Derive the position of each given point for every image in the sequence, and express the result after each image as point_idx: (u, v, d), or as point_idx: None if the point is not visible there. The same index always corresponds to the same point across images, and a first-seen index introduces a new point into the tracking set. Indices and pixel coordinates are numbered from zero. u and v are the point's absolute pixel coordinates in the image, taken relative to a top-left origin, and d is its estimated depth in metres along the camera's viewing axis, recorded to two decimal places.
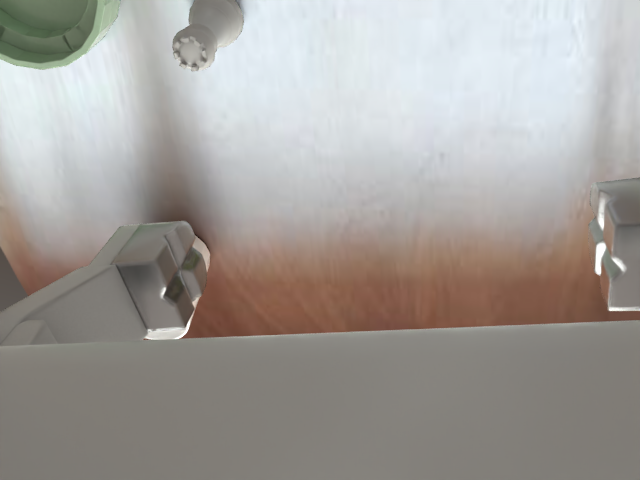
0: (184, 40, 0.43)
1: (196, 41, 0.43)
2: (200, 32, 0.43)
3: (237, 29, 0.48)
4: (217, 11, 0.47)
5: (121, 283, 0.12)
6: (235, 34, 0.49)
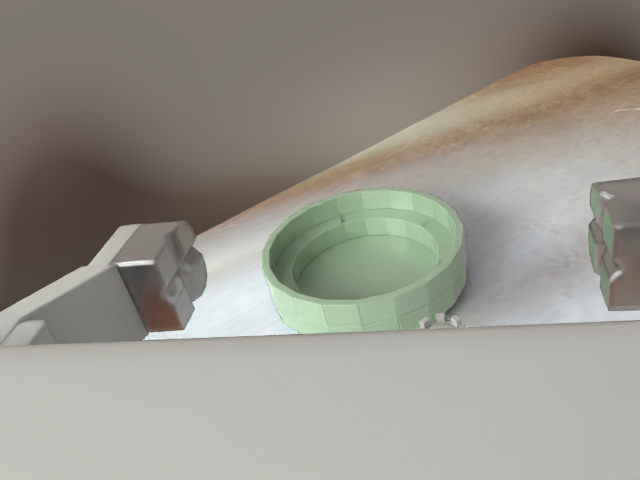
0: (454, 317, 0.30)
1: None
2: None
3: None
4: None
5: (121, 283, 0.12)
6: None
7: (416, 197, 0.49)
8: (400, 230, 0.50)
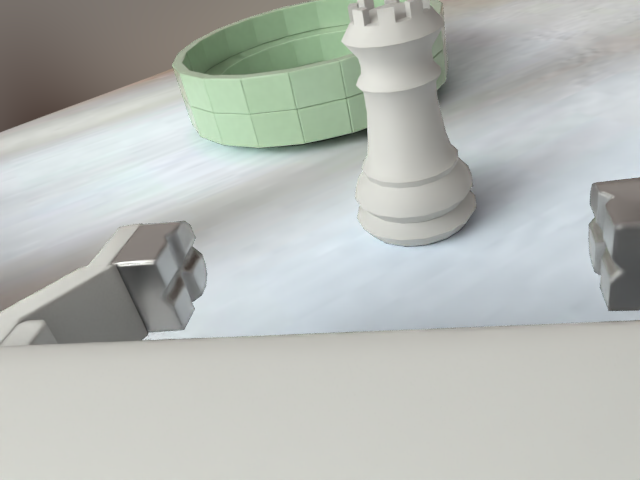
0: None
1: None
2: (441, 17, 0.19)
3: (437, 200, 0.20)
4: (451, 146, 0.21)
5: (121, 283, 0.12)
6: (424, 201, 0.20)
7: None
8: None
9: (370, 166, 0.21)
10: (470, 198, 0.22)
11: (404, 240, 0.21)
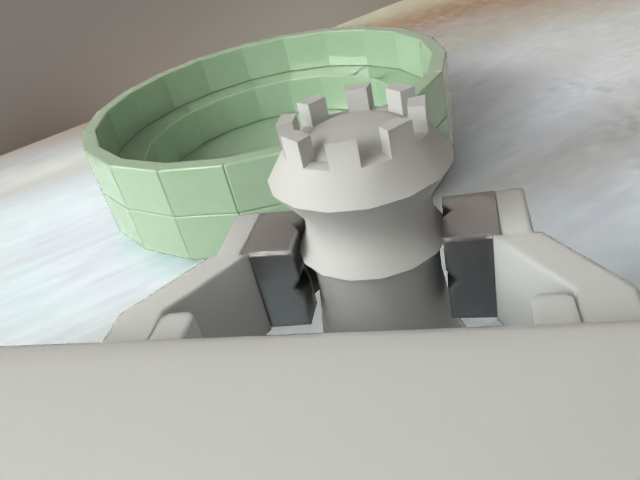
0: (395, 86, 0.10)
1: (423, 100, 0.10)
2: (448, 141, 0.10)
3: None
4: None
5: (249, 275, 0.11)
6: None
7: (370, 35, 0.29)
8: (345, 97, 0.30)
9: None
10: None
11: None
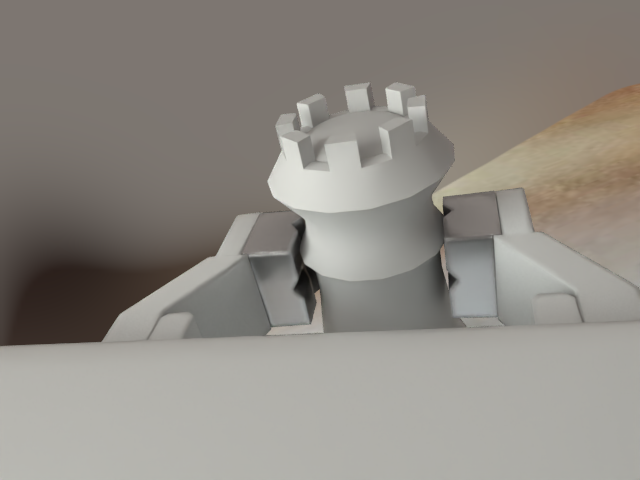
0: (395, 86, 0.10)
1: (423, 100, 0.10)
2: (448, 141, 0.10)
3: None
4: None
5: (249, 275, 0.11)
6: None
7: None
8: None
9: None
10: None
11: None
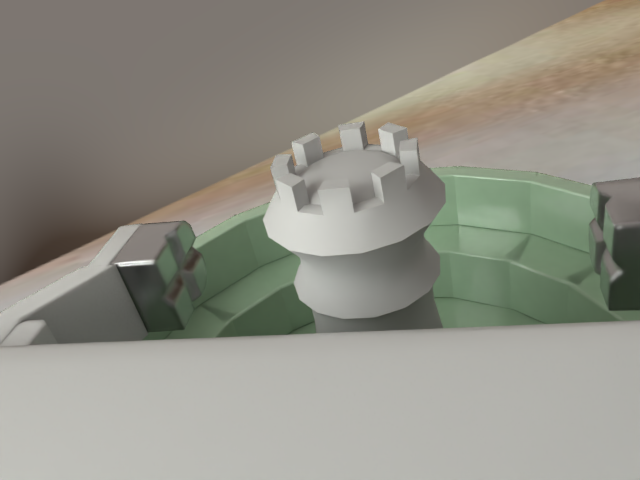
0: (387, 127, 0.11)
1: None
2: (440, 181, 0.10)
3: None
4: None
5: (121, 283, 0.12)
6: None
7: (548, 194, 0.16)
8: (492, 288, 0.18)
9: None
10: None
11: None
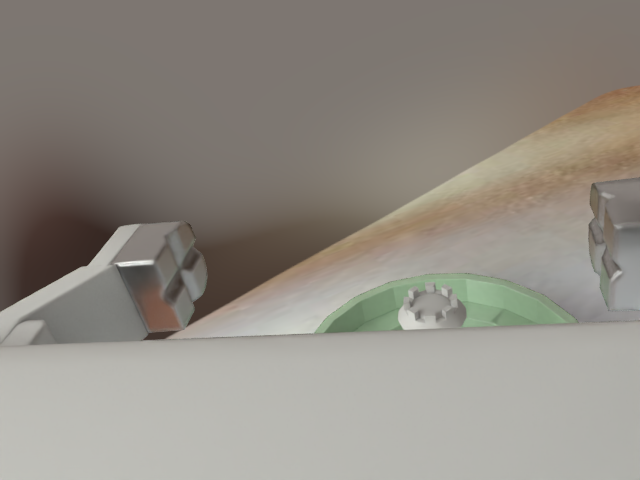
0: (444, 286, 0.28)
1: (456, 296, 0.28)
2: (464, 307, 0.28)
3: None
4: None
5: (121, 283, 0.12)
6: None
7: (511, 292, 0.34)
8: None
9: None
10: None
11: None
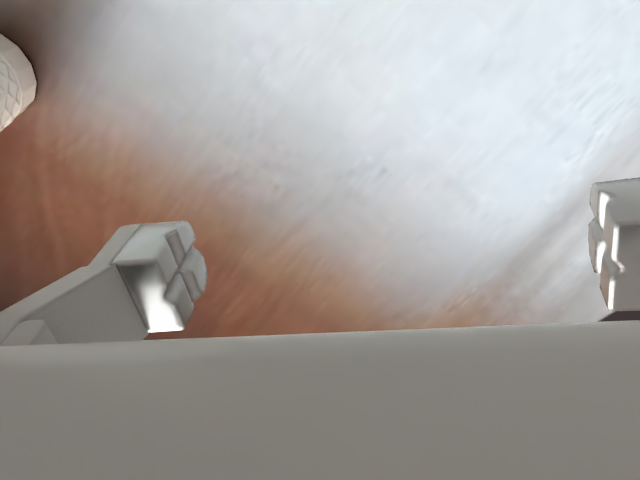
0: None
1: None
2: None
3: None
4: None
5: (121, 283, 0.12)
6: None
7: None
8: None
9: None
10: None
11: None
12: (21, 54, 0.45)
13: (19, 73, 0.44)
